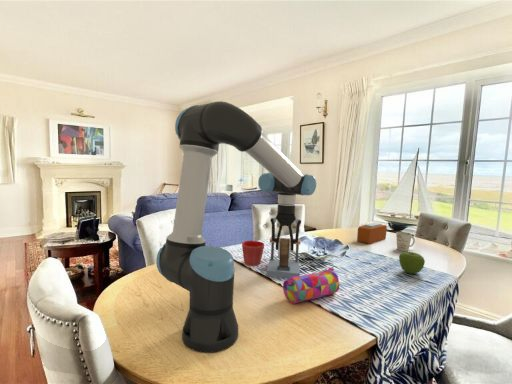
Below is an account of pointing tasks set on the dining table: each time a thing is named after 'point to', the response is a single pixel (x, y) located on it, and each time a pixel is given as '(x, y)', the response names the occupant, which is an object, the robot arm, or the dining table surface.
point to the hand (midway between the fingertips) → (284, 257)
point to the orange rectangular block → (371, 233)
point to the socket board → (280, 272)
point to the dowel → (284, 253)
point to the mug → (404, 241)
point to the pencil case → (311, 286)
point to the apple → (411, 262)
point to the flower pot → (252, 252)
